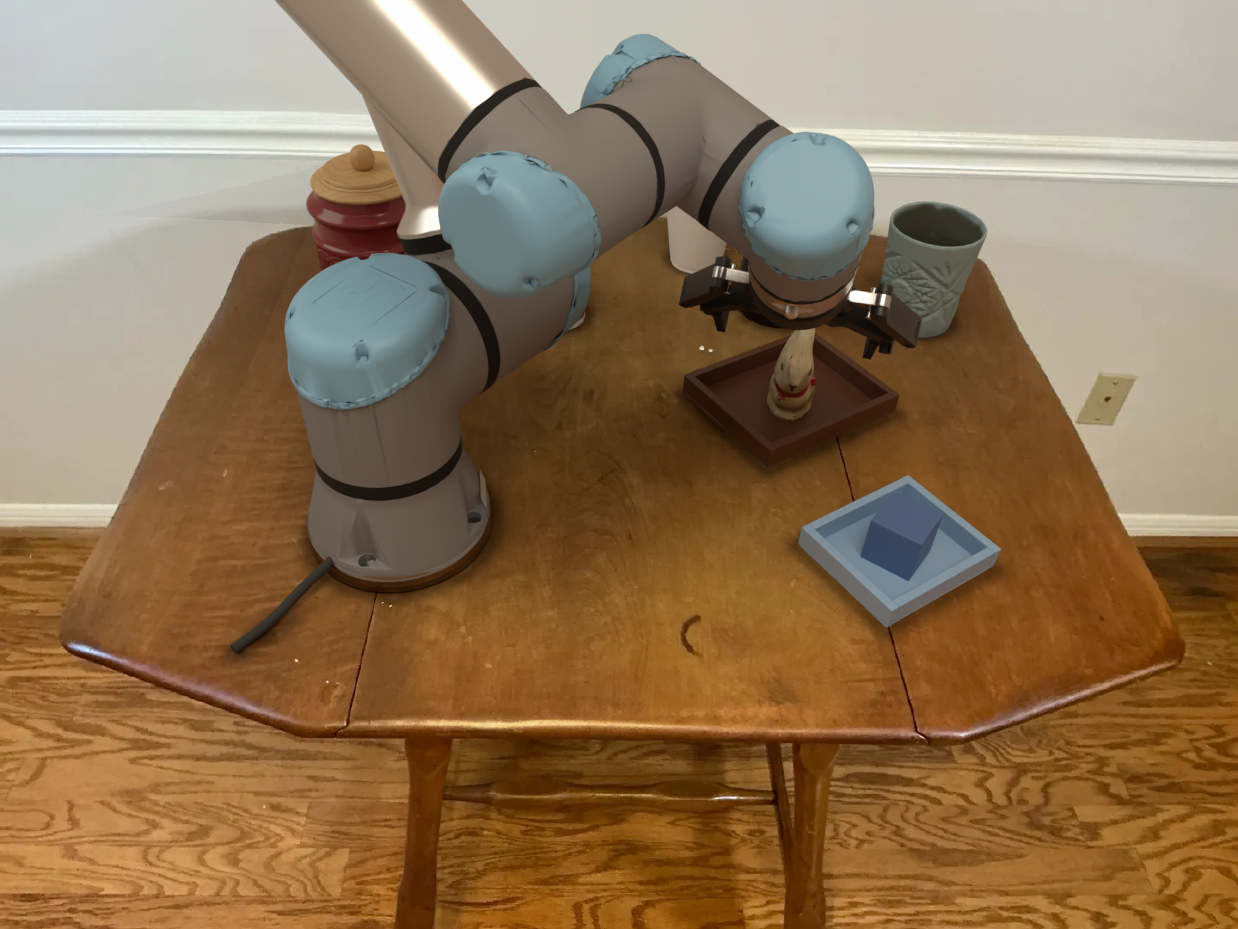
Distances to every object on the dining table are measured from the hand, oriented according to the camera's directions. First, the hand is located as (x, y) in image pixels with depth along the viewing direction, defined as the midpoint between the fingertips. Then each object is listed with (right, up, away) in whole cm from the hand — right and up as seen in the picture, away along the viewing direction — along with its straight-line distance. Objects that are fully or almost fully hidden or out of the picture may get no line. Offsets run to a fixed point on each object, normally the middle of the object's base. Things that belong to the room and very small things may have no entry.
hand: (795, 331), depth 88 cm
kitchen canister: (-44, +7, +21) cm, 49 cm away
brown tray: (+1, -6, +8) cm, 10 cm away
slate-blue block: (+7, -20, -8) cm, 23 cm away
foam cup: (-7, +13, +29) cm, 32 cm away
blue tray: (+7, -20, -8) cm, 23 cm away
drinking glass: (+17, +4, +21) cm, 27 cm away
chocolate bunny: (+1, -6, +8) cm, 10 cm away
